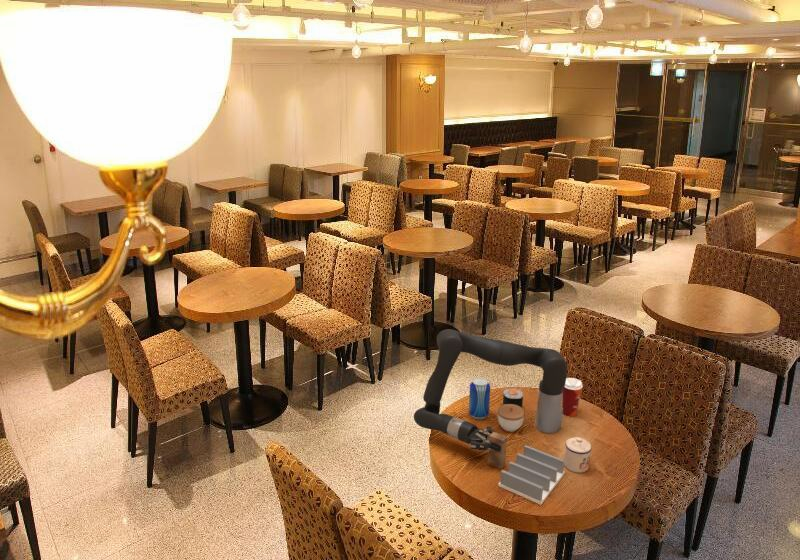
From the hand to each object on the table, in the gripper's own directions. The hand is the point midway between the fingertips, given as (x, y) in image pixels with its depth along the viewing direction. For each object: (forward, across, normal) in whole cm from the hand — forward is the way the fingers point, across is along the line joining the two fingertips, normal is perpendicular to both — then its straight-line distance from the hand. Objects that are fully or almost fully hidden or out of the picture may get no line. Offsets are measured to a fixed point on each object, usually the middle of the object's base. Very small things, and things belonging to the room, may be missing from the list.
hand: (502, 446), depth 213 cm
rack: (+12, 0, +8) cm, 15 cm away
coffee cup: (+6, +49, +9) cm, 50 cm away
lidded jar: (-9, +25, +9) cm, 28 cm away
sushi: (-15, +38, +9) cm, 42 cm away
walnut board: (-2, 0, +8) cm, 9 cm away
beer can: (-24, +25, +9) cm, 36 cm away
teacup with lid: (+22, +18, +9) cm, 30 cm away
